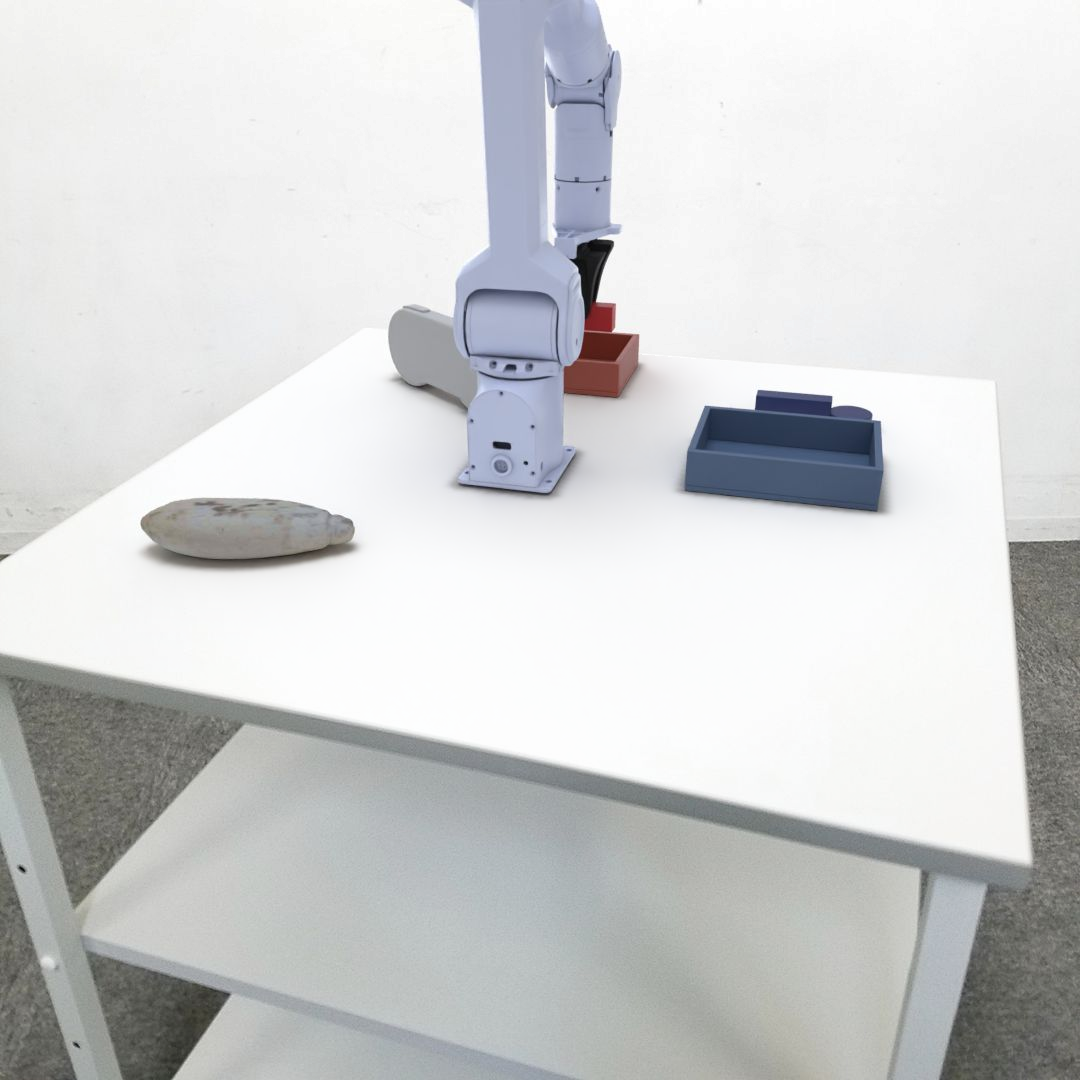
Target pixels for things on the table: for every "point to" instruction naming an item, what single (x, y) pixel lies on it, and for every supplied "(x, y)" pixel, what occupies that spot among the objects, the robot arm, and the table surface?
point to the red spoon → (601, 317)
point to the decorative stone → (244, 527)
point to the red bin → (602, 364)
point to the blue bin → (786, 457)
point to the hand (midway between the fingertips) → (580, 314)
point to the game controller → (430, 352)
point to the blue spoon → (806, 405)
